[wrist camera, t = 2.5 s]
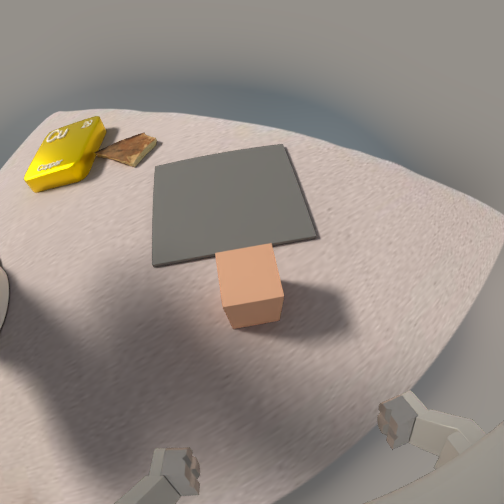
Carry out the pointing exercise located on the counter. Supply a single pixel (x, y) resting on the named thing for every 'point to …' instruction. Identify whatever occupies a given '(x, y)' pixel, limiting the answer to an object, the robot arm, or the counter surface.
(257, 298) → the terracotta block
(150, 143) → the shard
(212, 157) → the charcoal mat
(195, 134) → the counter surface
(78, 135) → the element tile
